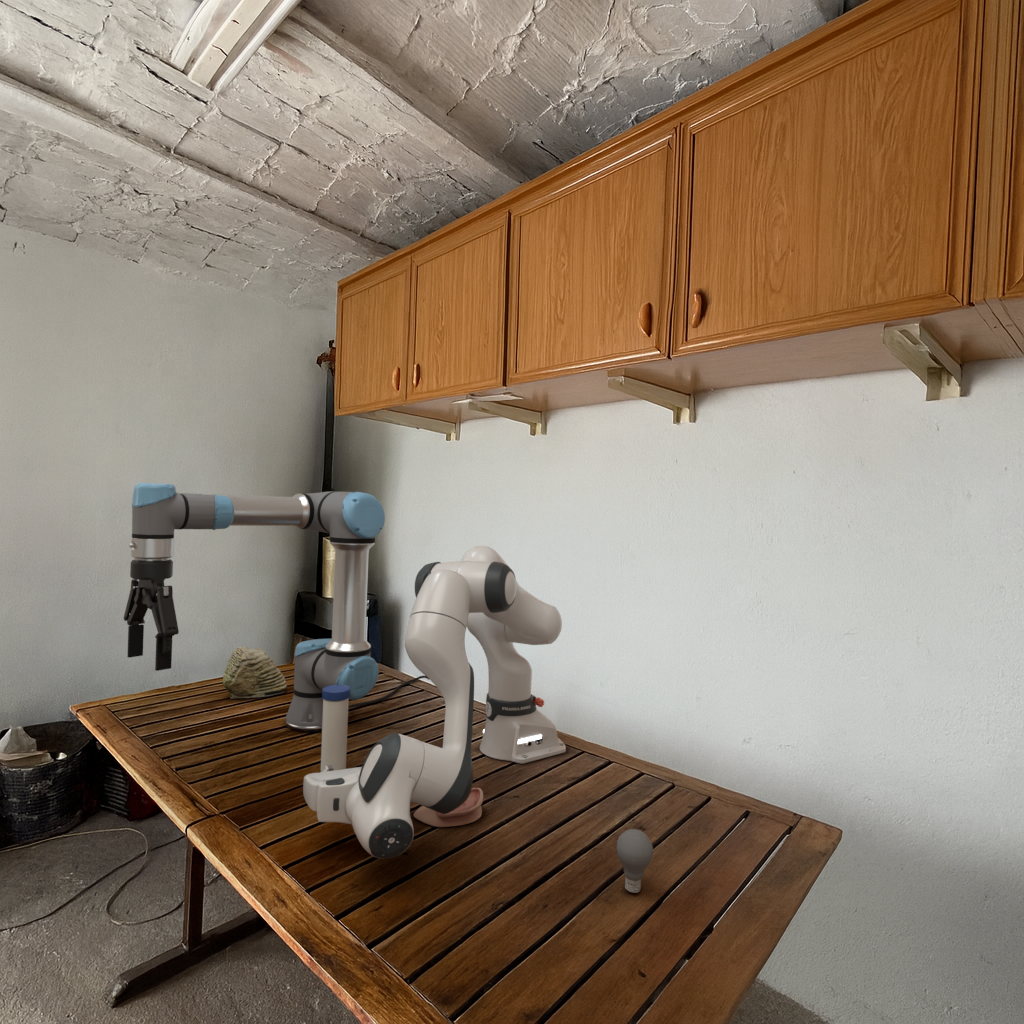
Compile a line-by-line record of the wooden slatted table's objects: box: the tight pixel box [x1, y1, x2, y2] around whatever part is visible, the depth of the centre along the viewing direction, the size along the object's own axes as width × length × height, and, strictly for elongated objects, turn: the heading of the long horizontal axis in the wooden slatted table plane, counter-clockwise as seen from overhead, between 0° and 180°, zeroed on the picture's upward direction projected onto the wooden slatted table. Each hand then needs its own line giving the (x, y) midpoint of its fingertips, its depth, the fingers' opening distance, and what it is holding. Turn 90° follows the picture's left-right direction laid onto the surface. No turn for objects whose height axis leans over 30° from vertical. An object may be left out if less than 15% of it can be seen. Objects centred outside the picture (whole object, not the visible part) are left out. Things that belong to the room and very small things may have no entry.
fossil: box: [222, 646, 288, 699], centre depth 198 cm, size 9×18×15 cm, turn 132°
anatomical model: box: [413, 787, 484, 828], centre depth 129 cm, size 13×4×12 cm
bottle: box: [320, 698, 349, 772], centre depth 144 cm, size 6×6×19 cm
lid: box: [322, 685, 350, 701], centre depth 144 cm, size 6×6×2 cm
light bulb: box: [615, 828, 654, 894], centre depth 106 cm, size 6×6×10 cm
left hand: (148, 662), depth 129 cm, fingers open, 13 cm apart
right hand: (352, 766), depth 125 cm, fingers open, 8 cm apart
